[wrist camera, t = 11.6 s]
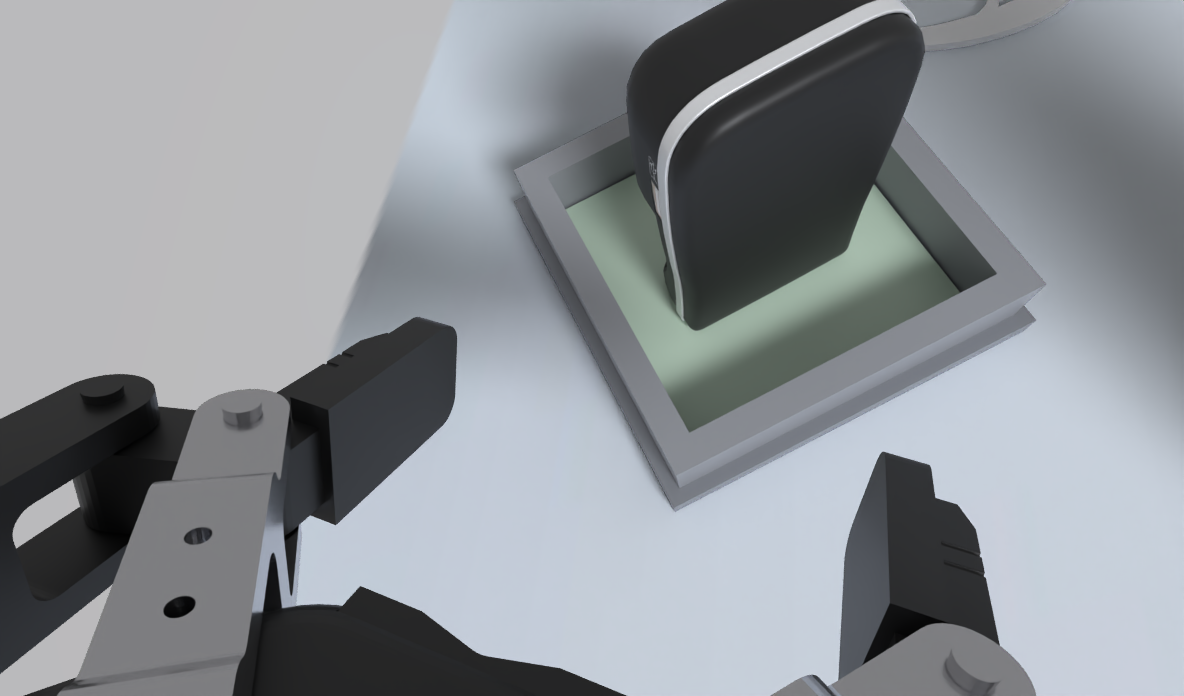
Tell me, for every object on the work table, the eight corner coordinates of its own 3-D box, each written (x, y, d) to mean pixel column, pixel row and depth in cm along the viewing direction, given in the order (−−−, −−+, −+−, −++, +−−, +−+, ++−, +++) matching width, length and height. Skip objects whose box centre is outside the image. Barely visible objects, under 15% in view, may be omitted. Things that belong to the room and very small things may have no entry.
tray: (809, 67, 30) (821, 2, 27) (1023, 330, 25) (1071, 289, 21) (520, 214, 30) (496, 166, 26) (674, 512, 24) (669, 497, 21)
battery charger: (797, 176, 27) (854, -102, 16) (855, 251, 25) (960, -1, 15) (638, 261, 27) (592, 36, 16) (688, 341, 25) (672, 152, 15)
